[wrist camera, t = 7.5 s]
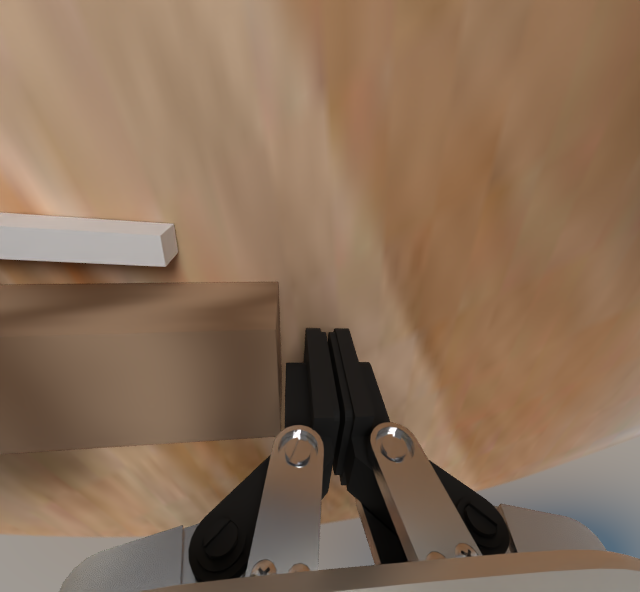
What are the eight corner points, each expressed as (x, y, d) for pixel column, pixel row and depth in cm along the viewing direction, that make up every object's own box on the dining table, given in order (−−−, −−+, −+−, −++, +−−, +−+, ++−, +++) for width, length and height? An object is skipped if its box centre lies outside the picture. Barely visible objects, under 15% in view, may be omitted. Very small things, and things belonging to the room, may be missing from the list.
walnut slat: (278, 282, 11) (275, 329, 9) (281, 377, 14) (280, 436, 11) (-258, 287, 9) (-464, 349, 7) (-141, 395, 12) (-259, 470, 9)
